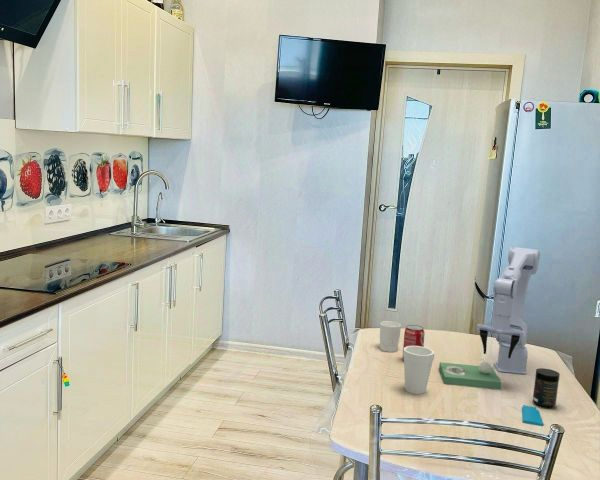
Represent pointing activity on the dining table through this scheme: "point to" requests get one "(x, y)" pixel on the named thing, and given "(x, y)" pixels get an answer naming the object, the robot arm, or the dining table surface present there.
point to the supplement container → (545, 388)
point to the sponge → (531, 416)
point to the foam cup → (417, 368)
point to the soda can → (413, 336)
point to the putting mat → (468, 376)
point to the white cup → (389, 336)
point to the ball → (485, 367)
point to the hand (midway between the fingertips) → (496, 355)
